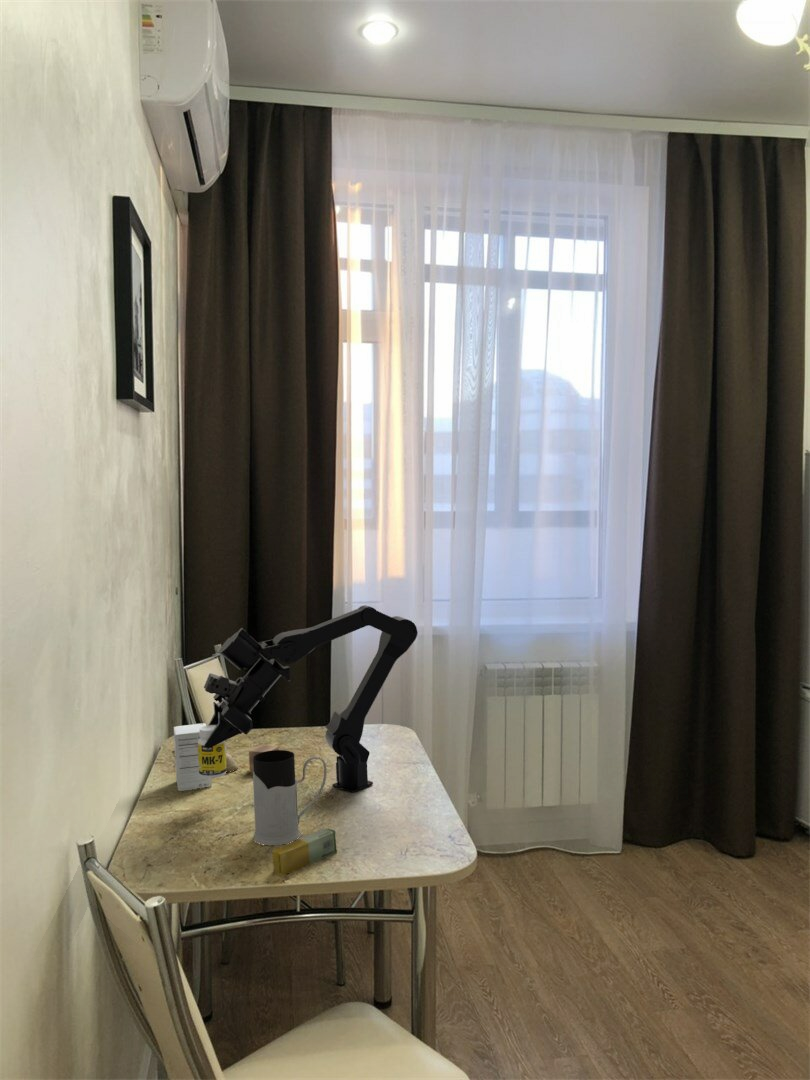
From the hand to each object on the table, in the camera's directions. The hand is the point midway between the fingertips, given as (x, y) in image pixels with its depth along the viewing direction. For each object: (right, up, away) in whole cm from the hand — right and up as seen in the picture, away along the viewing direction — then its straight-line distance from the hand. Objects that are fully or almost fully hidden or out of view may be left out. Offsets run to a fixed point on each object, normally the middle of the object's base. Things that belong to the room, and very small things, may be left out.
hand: (204, 743), depth 166 cm
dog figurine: (-3, -13, +24) cm, 27 cm away
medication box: (+24, -14, -26) cm, 38 cm away
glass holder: (+20, -13, -14) cm, 28 cm away
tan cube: (+8, -12, +24) cm, 28 cm away
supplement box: (-6, -13, +15) cm, 21 cm away
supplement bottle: (+2, -7, +1) cm, 7 cm away
